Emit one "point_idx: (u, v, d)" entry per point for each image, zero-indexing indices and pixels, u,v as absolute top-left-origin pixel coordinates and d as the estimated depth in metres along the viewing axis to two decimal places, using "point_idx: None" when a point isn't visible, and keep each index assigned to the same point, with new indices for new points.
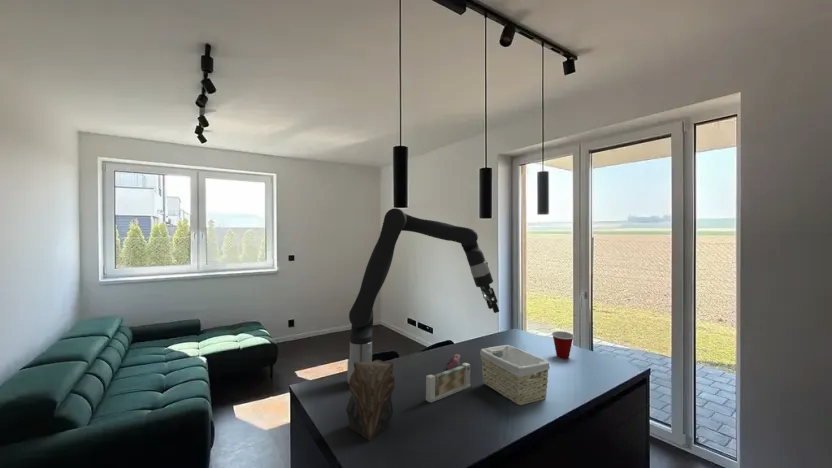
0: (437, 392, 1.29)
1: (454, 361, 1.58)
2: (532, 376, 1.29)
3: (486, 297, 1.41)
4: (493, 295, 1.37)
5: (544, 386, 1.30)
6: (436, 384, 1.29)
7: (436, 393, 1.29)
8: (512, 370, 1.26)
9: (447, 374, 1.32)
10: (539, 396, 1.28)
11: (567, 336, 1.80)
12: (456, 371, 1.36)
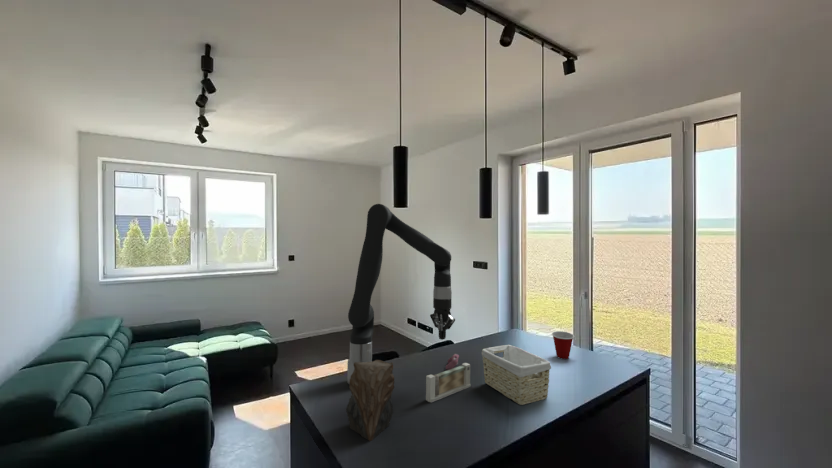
0: (437, 392, 1.29)
1: (453, 361, 1.58)
2: (533, 376, 1.29)
3: (440, 321, 1.40)
4: (451, 325, 1.38)
5: (545, 386, 1.30)
6: (436, 384, 1.29)
7: (436, 393, 1.29)
8: (513, 369, 1.26)
9: (447, 374, 1.32)
10: (540, 396, 1.29)
11: (567, 336, 1.80)
12: (456, 371, 1.36)
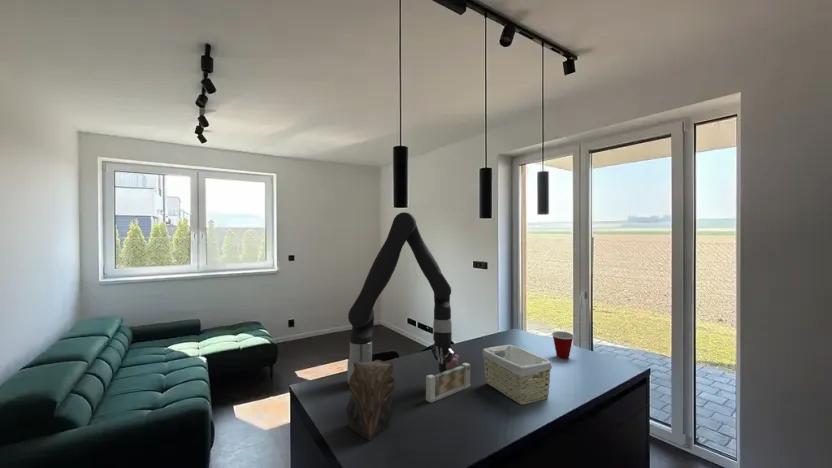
0: (437, 392, 1.29)
1: (452, 361, 1.58)
2: (534, 376, 1.30)
3: (440, 354, 1.39)
4: (451, 358, 1.38)
5: (546, 386, 1.30)
6: (436, 384, 1.29)
7: (436, 393, 1.29)
8: (514, 369, 1.26)
9: (447, 374, 1.32)
10: (541, 396, 1.29)
11: (567, 336, 1.80)
12: (456, 371, 1.36)
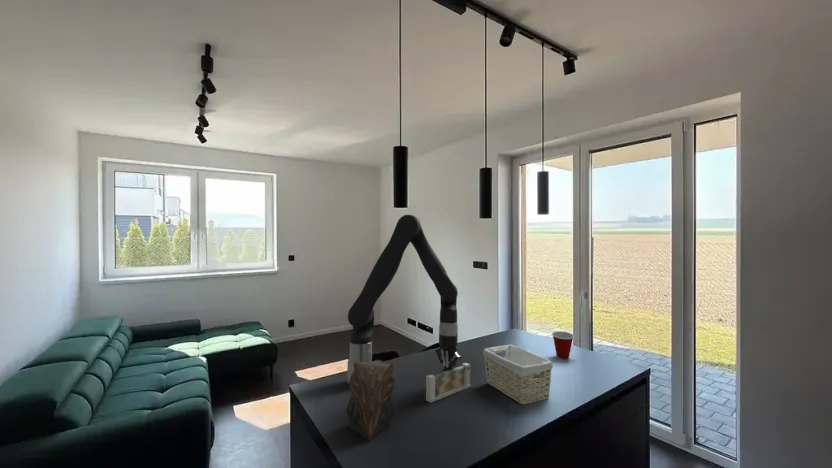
0: (437, 392, 1.29)
1: None
2: (535, 376, 1.30)
3: (446, 358, 1.37)
4: (457, 362, 1.36)
5: (547, 386, 1.30)
6: (436, 384, 1.29)
7: (436, 393, 1.29)
8: (515, 369, 1.26)
9: (447, 374, 1.32)
10: (542, 395, 1.29)
11: (567, 336, 1.80)
12: (456, 371, 1.36)
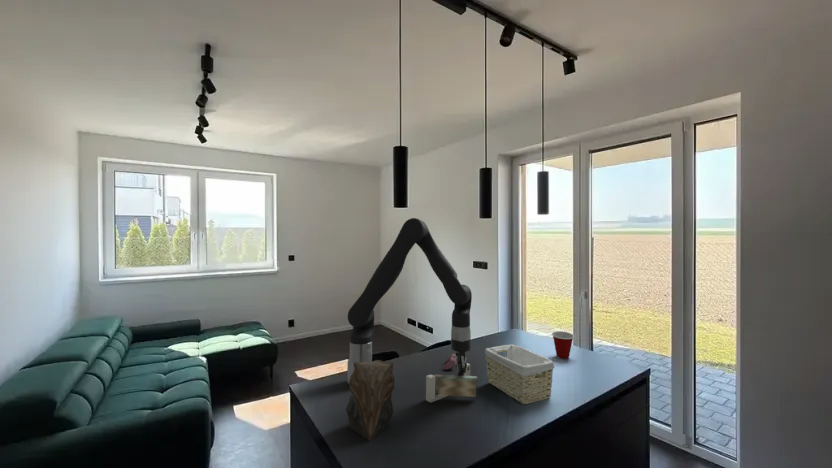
0: (435, 392, 1.29)
1: (451, 361, 1.58)
2: (537, 375, 1.30)
3: (456, 363, 1.32)
4: (464, 369, 1.28)
5: (549, 385, 1.30)
6: None
7: None
8: (517, 369, 1.26)
9: (449, 378, 1.28)
10: (544, 395, 1.29)
11: (567, 336, 1.80)
12: (463, 379, 1.28)
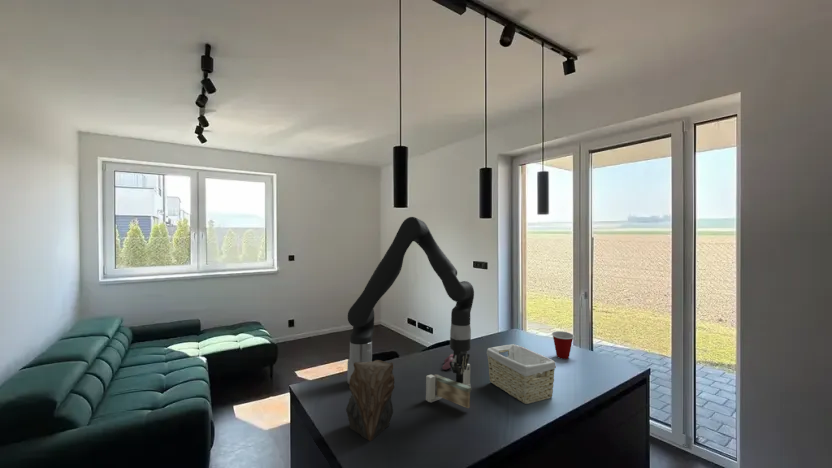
0: None
1: None
2: (538, 375, 1.30)
3: None
4: (455, 369, 1.22)
5: (550, 385, 1.31)
6: None
7: None
8: (518, 369, 1.27)
9: (445, 381, 1.26)
10: (545, 395, 1.29)
11: (567, 336, 1.80)
12: (456, 386, 1.22)
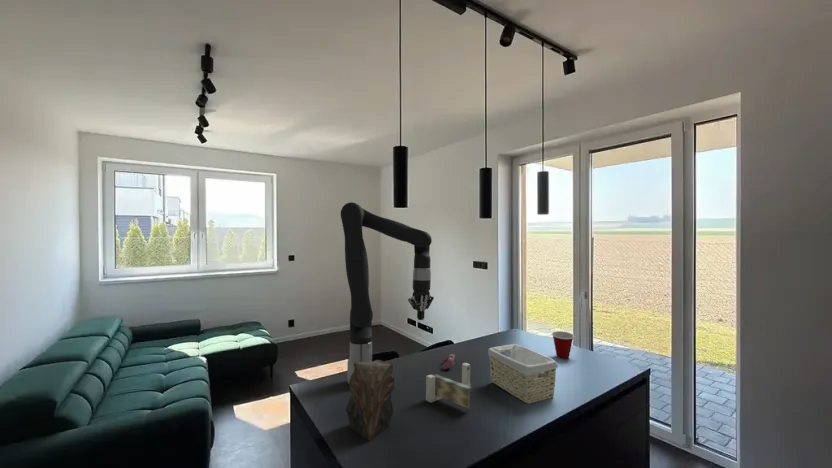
0: None
1: (449, 361, 1.58)
2: (540, 375, 1.30)
3: None
4: (413, 305, 1.41)
5: (552, 385, 1.31)
6: None
7: None
8: (520, 368, 1.27)
9: (445, 381, 1.26)
10: (547, 395, 1.30)
11: (567, 336, 1.80)
12: (456, 386, 1.22)
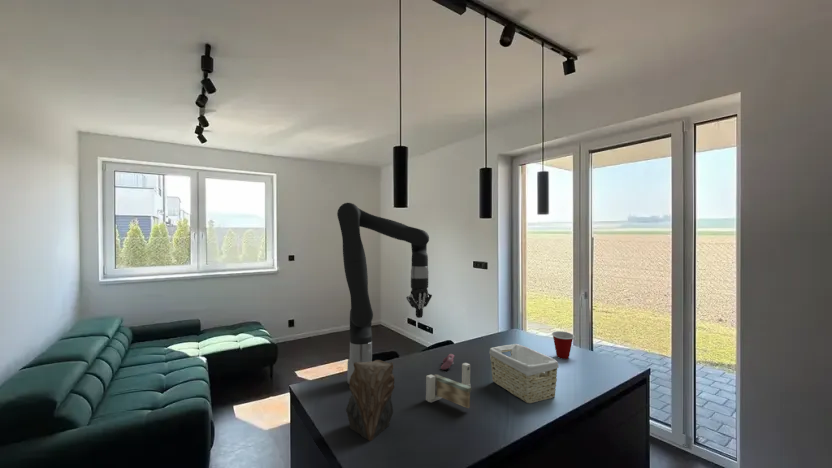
0: None
1: (448, 361, 1.58)
2: (541, 375, 1.31)
3: None
4: (411, 303, 1.42)
5: (553, 385, 1.31)
6: None
7: None
8: (521, 368, 1.27)
9: (445, 381, 1.26)
10: (548, 394, 1.30)
11: (567, 336, 1.80)
12: (456, 386, 1.22)
